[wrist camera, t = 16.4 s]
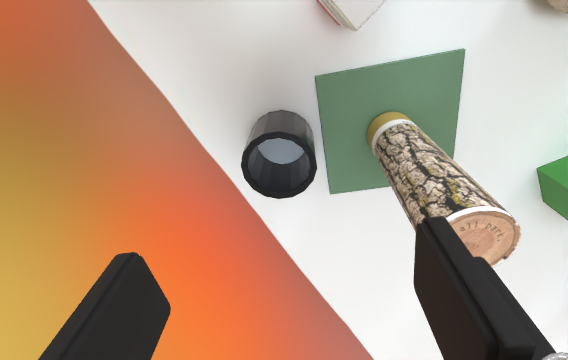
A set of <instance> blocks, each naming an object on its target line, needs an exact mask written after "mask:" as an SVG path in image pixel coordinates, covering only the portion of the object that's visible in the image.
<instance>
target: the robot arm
mask: <svg viewBox="0 0 568 360" xmlns="http://www.w3.org/2000/svg"><path fill="white" fill-rule="evenodd" d="M414 288H415V292H416V294H417V297H418V299H419V301H420V304H421V306H422V308H423V311H424V313H425V316H426V318H427V320H428V323H429V325H430V327H431V330H432V332H433V335H434V337H435V339H436V342H437V344H438V347H439V349H440V351H441V354H442V356H443V358H444V360H568V353H562V352H560V353H556V352H555V350H554V349H553V348H552V346H551V345H550V344H549V342H548V341H547V340H546V338H545V337H544V336H543V334H542V333H541V332H540V330H539V329H538V328H537V327H536V325H535V324H534V323H533V321H532V320H531V319H530V317H529V316H528V315H527V313H526V312H525V311H524V309H523V308H522V307H521V305H520V304H519V303H518V301H517V300H516V299H515V298H514V296H513V295H512V294H511V292H510V291H509V290H508V288H507V287H506V286H505V284H504V283H503V282H502V280H501V279H500V278H499V276H498V275H497V274H496V272H495V271H494V270H493V268H492V267H491V266H490V265H489V263H488V262H487V261H486V260H485V259H484V258H482V257H481V256H476V257H473V256H472V254H471V253H470V251H469V250H468V249H467V247H466V246H465V244H464V243H463V242H462V240H461V239H460V237H459V236H458V235H457V233H456V232H455V230H454V229H453V228H452V226H451V225H450V223H449V222H448V221H447V219H446V218H445V217H444V216H436V217H428V218H423V219H422V223H418V224H417V225H416V242H415V263H414ZM169 315H170V304H169V302H168V300H167V298H166V297H165V295H164V293H163V292H162V290H161V288H160V286H159V285H158V283H157V281H156V279H155V278H154V276H153V274H152V273H151V271H150V269H149V267H148V266H147V264H146V262H145V261H144V259H143V258H142V257H141V256H139V255H138V254H137V253H135V252H131V253H123V254H118V255H116V256H115V257H114V259H113V260H112V261H111V262H110V264H109V265H108V266H107V268H106V269H105V271H104V272H103V273H102V275H101V276H100V277H99V278H98V280H97V281H96V283H95V284H94V285H93V287H92V288H91V289H90V291H89V292H88V293H87V295H86V296H85V297H84V299H83V300H82V301H81V303H80V304H79V305H78V307H77V308H76V310H75V311H74V312H73V313H72V315H71V316H70V317H69V319H68V320H67V321H66V323H65V324H64V325H63V327H62V328H61V330H60V331H59V332H58V334H57V335H56V336H55V338H54V339H53V340H52V342H51V343H50V344H49V346H48V347H47V348H46V350H45V351H44V352H43V354H42V355H41V357H40V358H39V359H38V360H151V358H152V355H153V353H154V351H155V348H156V346H157V343H158V341H159V339H160V336H161V334H162V331H163V329H164V327H165V324H166V322H167V320H168V317H169Z"/></svg>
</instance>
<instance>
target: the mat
mask: <svg viewBox="0 0 568 360" xmlns="http://www.w3.org/2000/svg"><path fill="white" fill-rule="evenodd" d="M464 57H465V49H459V50H454V51H448V52H443V53H438V54H432V55H427V56H421V57H416V58H411V59H405V60H400V61H394V62H389V63H384V64H378V65H373V66H367V67H362V68H357V69H351V70H346V71H340V72H335V73H330V74H324V75H319V76H315V81H316V89H317V97H318V104H319V112H320V120H321V128H322V136H323V143H324V151H325V159H326V167H327V174H328V182H329V190H330V194H337V193H344V192H352V191H359V190H367V189H374V188H382V187H389V186H391V185H390V183H389V182H388V180H387V178H386V176H385V174H384V172H383V170H382V169H381V167H380V165H379V163H378V161H377V159H376V157H375V156H374V154H373V151H372V150H371V148H370V146H369V144H368V141H367V131H368V128H369V126H370V124H371V123H372V121H373V120H374V119H375V118H377V117H378V116H380V115H381V114H384V113H387V112H399V113H402V114H404V115H406V116H407V117H408V118H409V119H410V120H411V121H412V122H413V123H414V124H416V125H417V126H418V127H419V128H420V129H421V130H422V131H423V132H424V133H425V134H426V135H427V136H428V137H429V138H430V139H431V140H432V141H433V142H435V143H436V144H437V145H438V146H439V147H440V148H441V149H442V150H443V151H444V152H445V153H446V154H447V155H448V156H449V157H450V158H451V159H452V160H453V155H454V146H455V137H456V128H457V119H458V110H459V101H460V92H461V83H462V75H463V66H464Z"/></svg>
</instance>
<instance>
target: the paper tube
mask: <svg viewBox="0 0 568 360" xmlns="http://www.w3.org/2000/svg"><path fill="white" fill-rule="evenodd" d="M367 141H368V144H369V146H370V148H371V150H372V151H373V154H374V156H375V157H376V159H377V161H378V163H379V165H380V167H381V169H382V170H383V172H384V174H385V176H386V178H387V180H388V182H389V183H390V185H391V187H392V189H393V191H394V193H395V195H396V196H397V198H398V200H399V202H400V204H401V206H402V208H403V209H404V211H405V213H406V215H407V217H408V219H409V221H410V222H411V224H412V226H413V228H414V230H415V232H416V225H417V224H418V223H422V219H423V218H428V217H436V216H444V217H445V218H446V219H447V221H448V222H449V223H450V225H451V226H452V228H453V229H454V230H455V232H456V233H457V235H458V236H459V237H460V239H461V240H462V242H463V243H464V244H465V246H466V247H467V249H468V250H469V251H470V253H471V254H472V256H473V257H476V256H481V257H482V258H484V259H485V260H486V261H487V262H488V263H489V265H490V266H491V267H492V268H494V267H496V266H498V265H499V264H501V263H502V262H504V261H505V260H506V259H508V258H509V257H510V256H511V255H512V254H513V252H514V251H515V250H516V248H517V246H518V245H519V242H520V239H521V230H520V226H519V224H518V223H517V221H516V220H515V219H514V218H513V217H512V216H511V215H510V214H509V213H508V212H507V211H506V210H505V209H504V208H503V207H502V206H501V205H500V204H499V203H498V202H497V201H495V200H494V199H493V198H492V197H491V196H490V195H489V194H488V193H487V192H486V191H485V190H484V189H483V188H482V187H481V186H480V185H479V184H478V183H477V182H476V181H474V180H473V179H472V178H471V177H470V176H469V175H468V174H467V173H466V172H465V171H464V170H463V169H462V168H461V167H460V166H459V165H458V164H457V163H456V162H454V161H453V160H452V159H451V158H450V157H449V156H448V155H447V154H446V153H445V152H444V151H443V150H442V149H441V148H440V147H439V146H438V145H437V144H436V143H435V142H433V141H432V140H431V139H430V138H429V137H428V136H427V135H426V134H425V133H424V132H423V131H422V130H421V129H420V128H419V127H418V126H417V125H416V124H414V123H413V122H412V121H411V120H410V119H409V118H408V117H407V116H406V115H404V114H402V113H399V112H387V113H384V114H381V115H380V116H378V117H377V118H375V119H374V120H373V121H372V123H371V124H370V126H369V128H368V131H367Z"/></svg>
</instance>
